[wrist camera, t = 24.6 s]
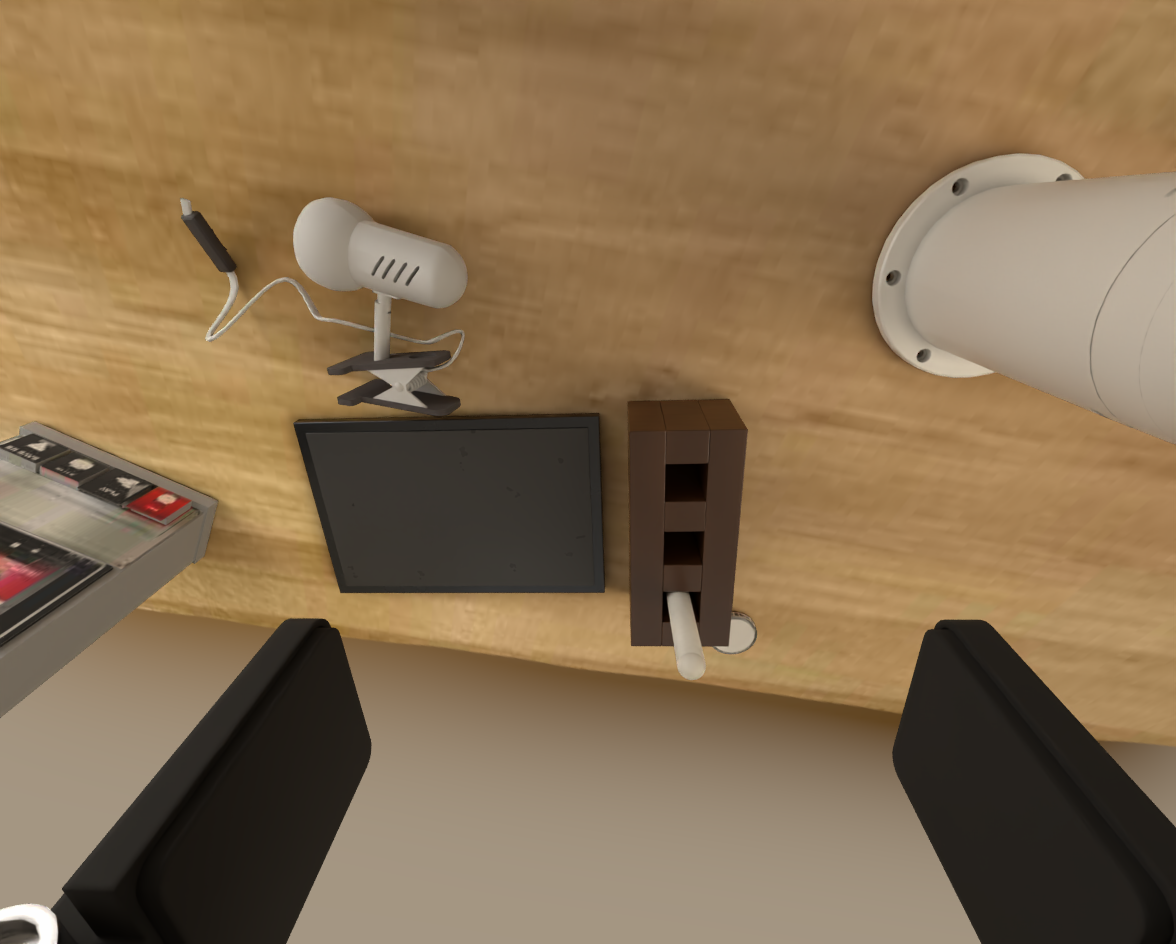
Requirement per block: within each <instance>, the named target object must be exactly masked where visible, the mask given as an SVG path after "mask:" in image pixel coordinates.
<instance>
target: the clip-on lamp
mask: <svg viewBox="0 0 1176 944" xmlns="http://www.w3.org/2000/svg"><path fill="white" fill-rule="evenodd" d="M180 200H181V205H182V211H183V215H182V216H181V218H182V220H183V221H184V223H185V224H186V225H187V227H188V228H189V230H190V231H191V232H192V234H193V235H194V237H195V238H196V239H197V241H198V242H199V243H200V245H201V246H202V248H203V249H204V250H205V252H206V253H207V255H208V256H209V257H210V259H211V260H212V261H213V263H214V264H215V266H216V267H217V268H218V270H219V271H221V272H226V273H227V275H228V276H229V279H230V286H231V290H230V294H229V297H228V300H227V302H226V304H225V306H224V308H223V310H222V311H221V313H220V314H219V316H218V317H217V319H216V320H215V322H214V323H213V325H212V326H211V328H210V329H209V331H208V332H207V334H206V338H205V340H207V341H209V342H211V341H213V340H215V339H217V338H219V337H220V336H221V335H222V334H224V333H225V332H226V331H227V330H228V329H229V328H230V327H231V326H232V325H233V324H234V323H235V322H236V321H237V320H238V319H239V318H240V317H241V316H242V315H243V314H244V313H245V312H246V311H247V309H248V308H249V307H250V306H251V305H252V304H253V303H254V302H255V301H256V300H257V299H258V298H259V297H260V296H261V295H262V294H263V293H264V292H266V291H267V290H268V289H270V288H271V287H273V286H274V285H275V284H277V283H281V282H285V281H286V282H289V283H291V284H293V285H294V286H295V287H296V288H297V289H298V290H299V292H300V294H301V295H302V297H303V299H304V301H305V302H306V304H307V306H308V308H309V310H310V312H311V314H312V315H313V316H314V318H316V319H317V320H320V321H326V322H334V323H339V324H343V325H348V326H352V327H356V328H359V329H363V330H367V331H371V332H374V352H365V353H362V354H360V355H358V356H355V357H353V358H350V359H348V360H345V361H343V362H340V363H338V364H336V365H333V366H331V367H328V368H327V371H328V374H329V375H343V374H347V373H349V372H351V371H369V372H371V373H372V374H374V375H376V376H377V377H379V378H381V379H374V380H372V381H370V382H368V383H366V384H364V385H361V386H359V387H357V388H355V389H353V390H351V391H349V392H347V393H345V394H343V395H341V396H339V397H337V399H338V404H340V405H347V406H354V405H357V404H359V403H361V402H364V403H369V404H375V405H380V406H385V407H390V408H396V409H401V410H406V411H412V412H417V413H422V414H427V415H433V416H445V415H448V414H450V413H452V412H453V411H454V410H456V409H457V408H459V407H460V405H461V403H460V399H459V398H457V397H453V396H447V395H445V394H444V393H443V392H442V391H441V390H440V389H439V388H437V387H436V386H435V385H434V384H433V383H432V382H431V381H429V380H428V379H427V373H428V372H431V371H436V370H440V369H443V368H445V367H447V366H449V365H450V364H451V363H453V361H454V360H455V359H456V358H457V356H458V354H459V353H460V351H461V348H462V346H463V342H464V335H465V334H464V331H463V330H461V329H457V330H453V331H450V332H447V333H444V334H442V335H440V336H437V337H435V338H433V339H430V340H419V339H414V338H410V337H406V336H402V335H398V334H394V333H390V326H391V298H395V299H401V298H402V299H406V300H409V301H413V302H416V303H419V304H423V305H426V306H430V307H433V308H445V307H448V306H450V305H452V304H454V303H455V302H457V301H458V300H459V299H460V298H461V296H462V295H463V293H464V291H465V289H466V286H467V281H468V274H467V268H466V265H465V262H464V260H463V258H462V257H461V255H460V254H459V253H458V252H457V251H456V250H455V249H454V248H453V247H452V246H451V245H448V244H445V243H441V242H438V241H435V240H432V239H428V238H425V237H422V236H418V235H415V234H412V233H409V232H405V231H402V230H399V229H395V228H392V227H389V226H386V225H382V224H379V223H376V222H375V221H374V220H373V219H372V217H371V216H370V215H369V214H367V213H366V212H365V211H364V210H362V209H361V208H360V207H359V206H357V205H356V204H354V203H352V202H349V201H346V200H342V199H337V198H322V199H318V200H315V201H312V202H310V203H309V204H308V205H307V206H306V207H304V209H303V210H302V212H301V214H300V215H299V217H298V219H297V222H296V225H295V228H294V234H293V239H294V243H293V245H294V251H295V256H296V259H297V261H298V264H299V266H300V268H301V269H302V270H303V272H304V273H305V274H306V275H307V276H308V277H309V278H310V279H311V280H313V281H314V282H316V283H318V284H320V285H322V286H324V287H326V288H328V289H331V290H335V291H354V290H358V289H361V288H363V287H365V288H369V289H372V292H373V293H377V294H378V297H377V300H375V326H374V328H371V327H368V326H364V325H360V324H356V323H352V322H348V321H344V320H339V319H333V318H324V317H322V316H321V315H320V314H319V312H318V310H317V308H316V307H315V305H314V303H313V301H312V300H311V298H310V296H309V295H308V293H307V292H306V290H305V289H304V288H303V286H302V285H300V284H299V283H298V282H297V281H296V280H294V279H291V278H289V277H285V278H280V279H276V280H275V281H273V282H272V283H270V284H269V285H267V286H266V287H264V288H263V289H262V290H261V291H260V292H259V293H258V294H257V295H256V296H254V297H253V298H252V299H251V300H250V301H249V302H248V303H247V304H246V305H245V306H244V307H243V308H242V309H241V310H240V312H239V313H238V314H237V315H236V316H235V317H234V318H233V319H232V320H231V321H230V322H229V323H228V324H227V325H226V326H225V327H223V328H222V329H221V330H220V331H219V332H217V333H216V334H214V332H215V330H216V329H217V327H218V326H219V325H220V323H221V322H222V320H223V319H224V318H225V316H226V315H227V313H228V312H229V310H230V308H231V307H232V305H233V303H234V302H235V300H236V296H237V293H238V289H239V286H238V279H237V276H236V274H235V272H234V270H235V269H236V267H237V266H236V264H235V263H234V261H233V260H232V258H231V257H230V255H229V254H228V252H227V251H226V250H227V249H226V248H225V247H224V246H223V245H222V244H221V242H220V241H219V239H218V238H217V236H216V235H215V233H214V232H213V229H211V228H210V226H209V225H208V223H207V222H206V220H205V219H204V217H203V216H202V215H201V213H200V212H198V211H192V208H191V202H190V200H187V199H184V198H180ZM455 333H460V334H461V335H462V338H461V342H460V345H459V347H458V349H457V351H456V352H455V354H454V356H453V357H452V358H451V355H450V351H446V350H443V351H427V352H411V353H396V354H390V337H394V338H398V339H402V340H406V341H410V342H415V343H420V344H433V343H435V342H438V341H440V340H442V339H444V338H446V337H448V336H450V335H452V334H455ZM213 334H214V335H213ZM450 358H451V359H450ZM449 359H450V360H449ZM447 360H449V361H448V362H446V363H445V364H443V365H441V366H437V365H439V364H441V363H443V362H445V361H447ZM434 366H436V367H434ZM390 384H391V385H392V386H391V385H390Z"/></svg>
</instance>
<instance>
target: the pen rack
mask: <svg viewBox="0 0 1176 944" xmlns="http://www.w3.org/2000/svg"><path fill="white" fill-rule="evenodd" d="M747 433H748V429H747V428H746V426H745V424H744V423H743V421H742V419H741V418H740V416H739V414H738V413H737V411H736V409H735V408H734V406H733V405H732V403H731V401H730V400H729V399H714V400H671V401H660V402H659V401H628V482H629V590H630V627H631V646H661V645H662V646H674V642H673V636H672V629H671V623H670V616H669V610H668V603H667V597H666V592H689V595H690V600H691V604H692V608H693V612H694V616H695V621H696V625H697V629H698V633H699V638H700V642H701V646H722V647H728V646H729V638H730V627H731V616H732V604H733V593H734V581H735V570H736V558H737V547H738V536H739V524H740V513H741V501H742V490H743V478H744V467H745V456H746V444H747ZM665 463H666V464H665Z"/></svg>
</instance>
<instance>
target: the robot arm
mask: <svg viewBox="0 0 1176 944" xmlns="http://www.w3.org/2000/svg"><path fill="white" fill-rule="evenodd" d="M953 184H955V185H956V188H955V190H954V191H953V192H952V186H953ZM889 273H890V274H891V277H890V279H889V280H888V281H886V277H887V275H888V274H889ZM872 303H873V309H874V315H875V320H876V323H877V325H878V328H879V330H880V332H881V335H882V337H883V338H884V340H885V341H886V342H887V344H888V345H889V347H890V348H891V349H892V351H894V352H895V353H896V354H897V355H898V356H899V357H901V358H902V359H903V360H904V361H905V362H907V363H909V364H911V365H913V366H915V367H916V368H918V369H921V370H923V371H926V372H928V373H931V374H934V375H939V376H945V377H951V378H964V377H976V376H981V375H986V374H991V373H994V372H997V373H999V374H1002V375H1004V376H1006V377H1009V378H1011V379H1014V380H1016V381H1019V382H1021V383H1023V384H1026V385H1028V386H1031V387H1033V388H1036V389H1038V390H1040V391H1043V392H1045V393H1048V394H1050V395H1053V396H1055V397H1058V398H1060V399H1062V400H1065V401H1067V402H1070V403H1072V404H1075V405H1077V406H1079V407H1082V408H1084V409H1087V410H1089V411H1092V412H1094V413H1096V414H1099V415H1101V416H1104V417H1106V418H1109V419H1111V420H1114V421H1116V422H1119V423H1121V424H1124V425H1126V426H1129V427H1131V428H1134V429H1137V430H1139V431H1142V432H1144V433H1147V434H1149V435H1152V436H1154V437H1157V438H1159V439H1162V440H1164V441H1167V442H1170V443H1173V444H1176V172H1164V173H1152V174H1140V175H1128V176H1115V177H1103V178H1091V179H1085V178H1084V177H1083V176H1082V175H1081V174H1080V173H1079V172H1078V171H1077V170H1075V169H1073V168H1072V167H1070V166H1068V165H1067V164H1065V163H1064V162H1062V161H1060V160H1057V159H1053V158H1050V157H1047V156H1043V155H1038V154H1021V153H1017V154H1009V155H1001V156H995V157H991V158H987V159H983V160H979V161H975V162H973V163H971V164H968V165H966V166H964V167H962V168H959V169H957V170H955V171H953V172H951V173H949V174H948V175H946V176H945V177H943V178H942V179H940V180H939V181H937V182H936V183H934V184H933V185H931V186H930V187H929V188H928V189H927V190H926V191H925V192H923V193H922V194H921V195H920V196H919V197H918V198H917V199H916V200H915V201H913V203H912V204H911V205H910V206H909V207H908V209H907V210H906V211H905V212H904V213H903V215H902V216H901V217H900V218H899V220H898V221H897V223H896V224H895V226H894V228H893V229H892V231H891V233H890V234H889V236H888V238H887V239H886V241H885V244H884V246H883V249H882V251H881V254H880V256H879V259H878V261H877V265H876V270H875V274H874V279H873V294H872ZM919 351H920V354H919V355H918V356H917V354H918V352H919ZM892 753H893V763H894V767H895V770H896V773H897V775H898V778H899V780H900V782H901V784H902V786H903V788H904V789H905V792H906V794H907V795H908V798H909V800H910V802H911V804H912V805H913V808H914V809H915V812H916V813H917V816H918V818H919V820H920V821H921V824H922V826H923V828H924V830H925V832H926V834H927V835H928V838H929V840H930V842H931V844H932V846H933V848H934V850H935V852H936V854H937V856H938V857H939V860H940V862H941V864H942V866H943V867H944V870H945V872H946V874H947V876H948V878H949V880H950V882H951V883H952V886H953V888H954V890H955V892H956V894H957V896H958V898H959V900H960V902H961V904H962V906H963V908H964V910H965V912H966V914H967V916H968V918H969V920H970V922H971V924H972V926H973V928H974V930H975V932H976V934H977V936H978V938H979V940H980V942H981V944H1176V827H1175V826H1174V825H1173V824H1172V823H1171V822H1170V821H1169V820H1168V818H1167V817H1166V816H1165V815H1164V814H1163V813H1162V812H1161V811H1160V810H1159V809H1158V807H1156V805H1155V804H1154V803H1153V802H1152V801H1151V800H1150V799H1149V798H1148V796H1146V794H1145V793H1144V792H1143V791H1142V790H1141V789H1140V788H1139V787H1138V786H1137V785H1136V783H1135V782H1134V781H1133V780H1131V778H1130V777H1129V776H1128V775H1127V774H1126V773H1125V771H1124V770H1123V769H1122V768H1121V767H1120V766H1119V765H1118V764H1117V763H1116V761H1115V760H1114V759H1113V758H1112V757H1111V756H1110V755H1109V754H1108V753H1107V752H1106V751H1105V749H1104V748H1103V747H1102V746H1101V745H1100V744H1099V743H1098V742H1097V741H1096V740H1095V738H1094V737H1093V736H1092V735H1091V734H1090V733H1089V732H1088V731H1087V730H1086V729H1085V727H1084V726H1083V725H1082V724H1081V723H1080V722H1079V721H1078V720H1077V719H1076V718H1075V717H1074V715H1073V714H1072V713H1071V712H1070V711H1069V710H1068V709H1067V708H1066V707H1065V706H1064V705H1063V703H1062V702H1061V701H1060V700H1059V699H1058V698H1057V697H1056V696H1055V695H1054V694H1053V692H1052V691H1051V690H1050V689H1049V688H1048V687H1047V686H1046V685H1045V684H1044V683H1043V682H1042V680H1041V679H1040V678H1039V677H1038V676H1037V675H1036V674H1035V673H1034V672H1033V671H1032V669H1031V668H1030V667H1029V666H1028V665H1027V664H1026V663H1025V662H1024V661H1023V660H1022V659H1021V657H1020V656H1019V655H1018V654H1017V653H1016V652H1015V651H1014V650H1013V649H1012V648H1011V646H1010V645H1009V644H1008V643H1007V642H1006V641H1005V640H1004V639H1003V638H1002V637H1001V636H1000V634H999V633H998V632H997V631H996V630H995V629H994V628H993V627H992V626H991V625H990V624H989V623H987V622H986V621H983V620H940V621H939V622H938V623H937V624H936V626H935V628H934V629H931V630H928V631H927V632H926V633H925V635H924V638H923V641H922V645H921V649H920V652H919V656H918V659H917V663H916V667H915V670H914V674H913V678H912V681H911V685H910V688H909V692H908V696H907V699H906V703H905V707H904V710H903V714H902V718H901V721H900V725H899V728H898V732H897V736H896V739H895V743H894V747H893V752H892ZM370 755H371V739H370V736H369V732H368V730H367V725H366V722H365V719H364V715H363V712H362V708H361V705H360V701H359V698H358V694H357V691H356V687H355V684H354V681H353V677H352V674H351V670H350V667H349V664H348V660H347V657H346V653H345V649H344V646H343V643H342V639H341V636H340V633H339V631H338V630H337V629H336V628H331V626H330V624H329V622H328V621H327V620H326V619H288V620H285V621H284V622H283V623H282V624H281V625H280V626H279V627H278V628H277V629H276V631H275V632H274V633H273V634H272V636H271V637H270V638H269V639H268V640H267V642H266V643H265V644H264V645H263V646H262V648H261V649H260V650H259V651H258V652H257V654H256V655H255V656H254V657H253V658H252V660H251V661H250V662H249V664H248V665H247V666H246V667H245V668H244V669H243V670H242V672H241V673H240V674H239V675H238V676H237V678H236V679H235V680H234V681H233V683H232V684H231V685H230V686H229V687H228V689H227V690H226V691H225V692H224V693H223V695H222V696H221V697H220V698H219V699H218V701H217V702H216V703H215V705H214V706H213V707H212V708H211V709H210V710H209V711H208V713H207V714H206V715H205V716H204V718H203V719H202V720H201V721H200V722H199V724H198V725H197V726H196V727H195V728H194V730H193V731H192V732H191V733H190V734H189V736H188V737H187V738H186V739H185V741H184V742H183V743H182V744H181V745H180V747H179V748H178V749H177V750H176V751H175V752H174V754H173V755H172V756H171V757H170V759H169V760H168V761H167V762H166V763H165V765H164V766H163V767H162V768H161V769H160V771H159V772H158V773H157V774H156V775H155V777H154V778H153V779H152V780H151V782H150V783H149V784H148V785H147V786H146V787H145V789H144V790H143V791H142V792H141V794H140V795H139V796H138V797H137V798H136V800H135V801H134V802H133V803H132V804H131V806H130V807H129V808H128V809H127V810H126V812H125V813H124V814H123V815H122V816H121V818H120V819H119V820H118V821H117V822H116V824H115V825H114V826H113V827H112V829H111V830H110V831H109V832H108V833H107V835H106V836H105V837H104V838H103V839H102V841H101V842H100V843H99V844H98V845H97V847H96V848H95V849H94V850H93V851H92V853H91V854H90V855H89V856H88V857H87V859H86V860H85V861H84V862H83V863H82V865H81V866H80V867H79V868H78V870H77V871H76V872H75V873H74V874H73V876H72V877H71V878H70V879H69V881H68V882H67V883H66V884H65V885H64V887H63V888H62V890H63V891H64V894H63V896H62V897H61V898H60V899H59V900H58V901H57V903H56V904H55V905H54V906H53V908H52V909H51V910H49V909H48V908H47V907H46V906H43V905H37V904H30V903H28V904H22V905H18V906H12V907H7V908H4V909H2V910H0V944H286V943H287V941H288V938H289V936H290V933H291V932H292V929H293V927H294V925H295V923H296V921H297V919H298V916H299V914H300V912H301V910H302V908H303V906H304V903H305V901H306V899H307V897H308V895H309V892H310V890H311V888H312V886H313V884H314V881H315V879H316V877H317V875H318V873H319V871H320V868H321V866H322V864H323V862H324V860H325V857H326V855H327V853H328V851H329V849H330V846H331V844H332V842H333V840H334V838H335V835H336V833H337V831H338V829H339V827H340V824H341V822H342V820H343V818H344V816H345V814H346V811H347V809H348V807H349V805H350V803H351V800H352V798H353V796H354V794H355V792H356V790H357V787H358V785H359V783H360V781H361V779H362V776H363V774H364V772H365V770H366V768H367V765H368V763H369V759H370Z"/></svg>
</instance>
